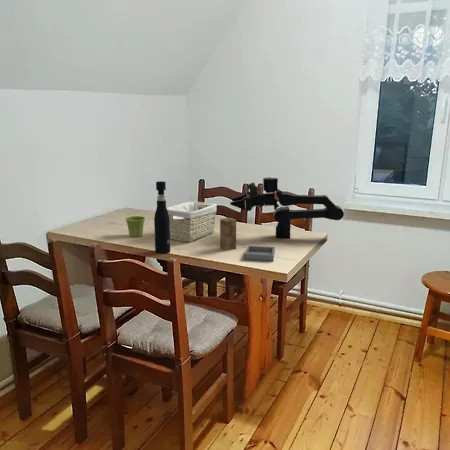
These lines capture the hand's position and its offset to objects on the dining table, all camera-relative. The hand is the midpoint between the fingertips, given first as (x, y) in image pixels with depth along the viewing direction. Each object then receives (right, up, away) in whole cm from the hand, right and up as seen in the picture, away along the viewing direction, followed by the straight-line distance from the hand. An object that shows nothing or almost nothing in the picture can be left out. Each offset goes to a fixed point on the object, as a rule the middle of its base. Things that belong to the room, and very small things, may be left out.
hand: (231, 201), depth 215 cm
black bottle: (-30, -23, -22) cm, 43 cm away
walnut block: (-2, -21, -17) cm, 27 cm away
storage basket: (-19, -17, +3) cm, 26 cm away
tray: (+12, -24, -27) cm, 38 cm away
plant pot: (-46, -17, +2) cm, 49 cm away
